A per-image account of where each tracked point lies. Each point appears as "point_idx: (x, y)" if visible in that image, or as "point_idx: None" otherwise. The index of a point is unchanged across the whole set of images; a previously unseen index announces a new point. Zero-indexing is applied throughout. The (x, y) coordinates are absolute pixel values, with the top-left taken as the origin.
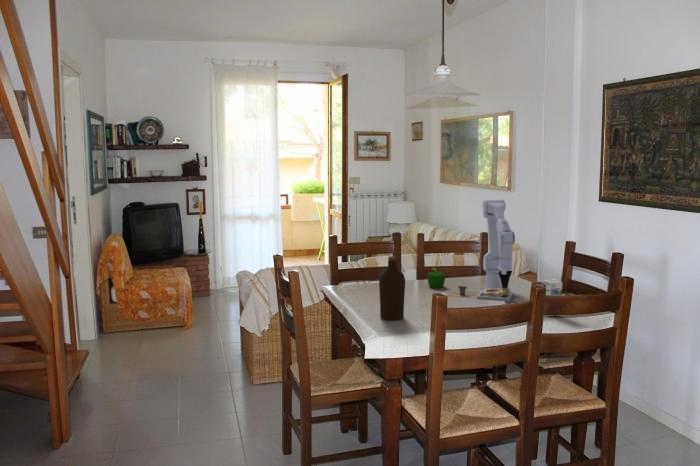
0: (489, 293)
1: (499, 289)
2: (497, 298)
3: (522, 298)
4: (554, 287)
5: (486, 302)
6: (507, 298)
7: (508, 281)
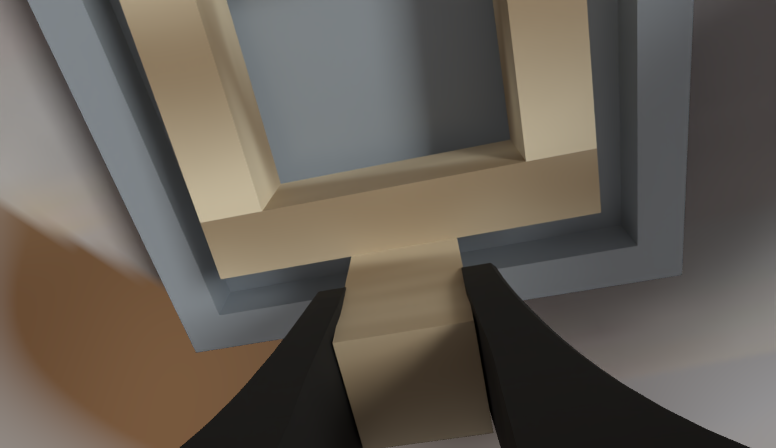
0: (142, 40)
1: (520, 141)
2: (131, 198)
3: None
4: None
5: (12, 33)
6: (186, 331)
7: (502, 445)
